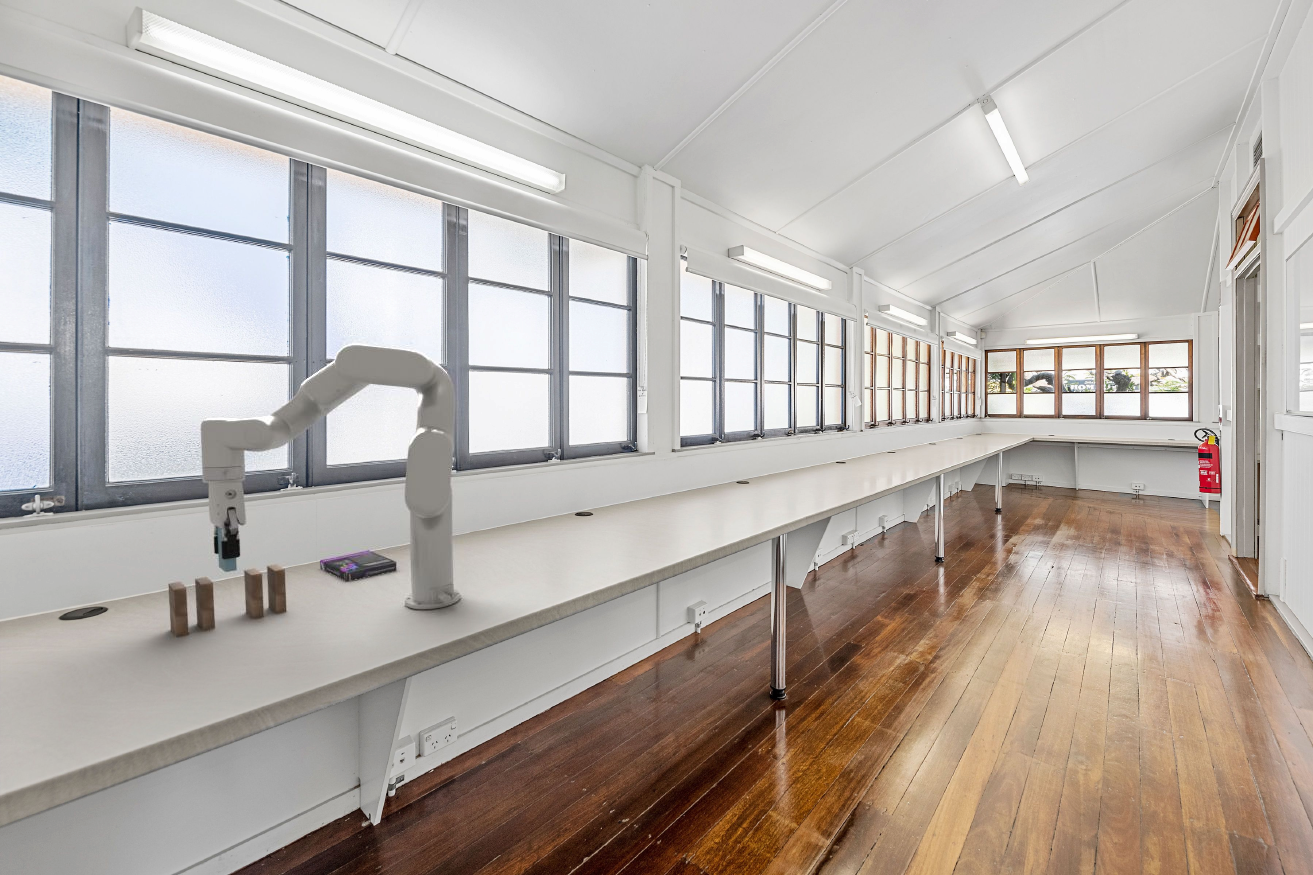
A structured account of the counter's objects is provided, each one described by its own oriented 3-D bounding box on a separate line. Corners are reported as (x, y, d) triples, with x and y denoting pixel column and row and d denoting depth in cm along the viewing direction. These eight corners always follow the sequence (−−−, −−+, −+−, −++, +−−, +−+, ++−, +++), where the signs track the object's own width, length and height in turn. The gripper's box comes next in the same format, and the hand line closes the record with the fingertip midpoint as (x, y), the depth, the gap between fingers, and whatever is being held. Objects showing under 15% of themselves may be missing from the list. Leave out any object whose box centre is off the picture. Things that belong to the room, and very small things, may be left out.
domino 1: (182, 627, 126) (180, 581, 126) (188, 634, 122) (186, 587, 122) (170, 629, 125) (168, 583, 124) (176, 637, 121) (173, 589, 120)
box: (320, 571, 171) (346, 583, 158) (319, 559, 171) (345, 571, 158) (369, 561, 181) (397, 572, 168) (368, 550, 181) (396, 560, 168)
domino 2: (208, 621, 130) (206, 576, 129) (215, 628, 126) (212, 582, 125) (197, 623, 128) (195, 578, 127) (203, 630, 124) (201, 584, 123)
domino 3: (229, 565, 132) (228, 521, 132) (236, 570, 128) (234, 525, 128) (218, 566, 131) (217, 522, 130) (225, 572, 127) (223, 526, 126)
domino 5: (278, 605, 140) (276, 564, 139) (286, 611, 136) (284, 568, 135) (268, 607, 138) (267, 565, 138) (276, 613, 134) (274, 570, 134)
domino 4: (256, 610, 136) (254, 568, 136) (263, 616, 132) (262, 573, 132) (246, 612, 135) (244, 570, 134) (253, 619, 131) (251, 575, 130)
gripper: (255, 476, 125) (258, 559, 126) (234, 469, 137) (237, 545, 138) (212, 479, 120) (215, 566, 121) (194, 472, 131) (197, 551, 132)
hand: (227, 554), depth 129 cm, fingers closed on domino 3, 5 cm apart
